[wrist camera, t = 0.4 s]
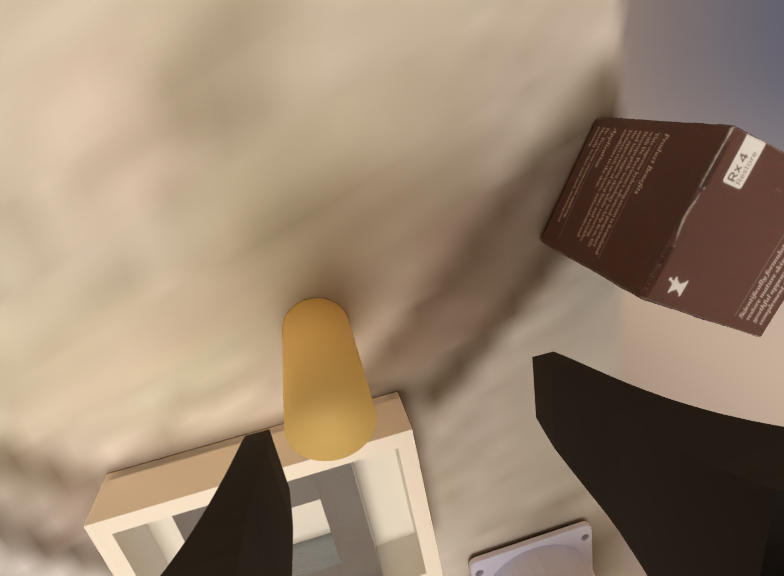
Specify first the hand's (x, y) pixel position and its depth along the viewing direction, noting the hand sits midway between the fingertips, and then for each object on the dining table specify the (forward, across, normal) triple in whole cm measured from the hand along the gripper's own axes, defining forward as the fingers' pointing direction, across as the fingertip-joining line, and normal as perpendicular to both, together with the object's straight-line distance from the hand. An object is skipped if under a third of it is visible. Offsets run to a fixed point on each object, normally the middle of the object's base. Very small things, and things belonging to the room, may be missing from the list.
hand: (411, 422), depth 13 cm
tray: (+10, +6, +11) cm, 16 cm away
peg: (+10, +2, +2) cm, 10 cm away
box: (+10, -13, -1) cm, 16 cm away
